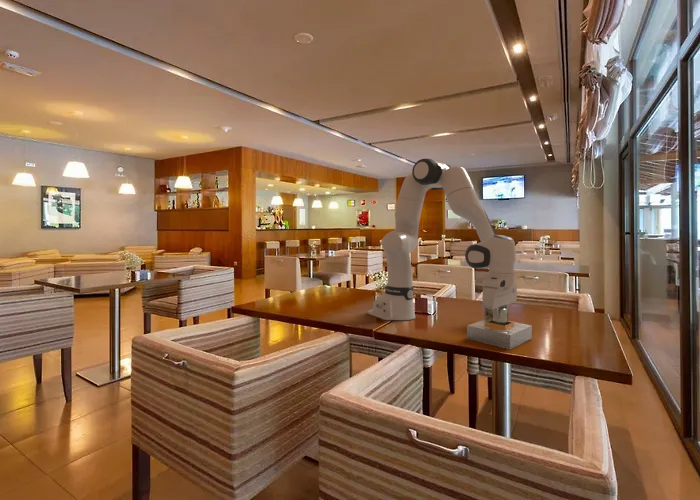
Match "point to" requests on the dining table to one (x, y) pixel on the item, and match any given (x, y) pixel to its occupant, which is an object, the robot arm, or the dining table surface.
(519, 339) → the grey rectangular block
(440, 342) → the dining table surface
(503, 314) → the spout can
